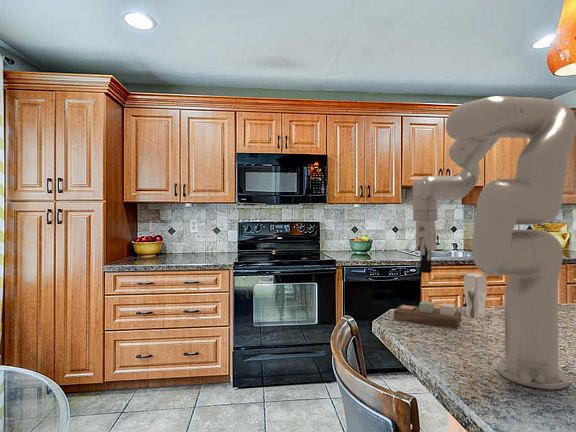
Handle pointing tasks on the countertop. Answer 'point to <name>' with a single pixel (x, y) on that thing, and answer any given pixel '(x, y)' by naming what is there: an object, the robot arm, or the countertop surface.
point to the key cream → (447, 309)
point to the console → (428, 317)
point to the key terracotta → (407, 308)
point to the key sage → (427, 307)
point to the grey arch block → (475, 294)
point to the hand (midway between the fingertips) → (425, 272)
